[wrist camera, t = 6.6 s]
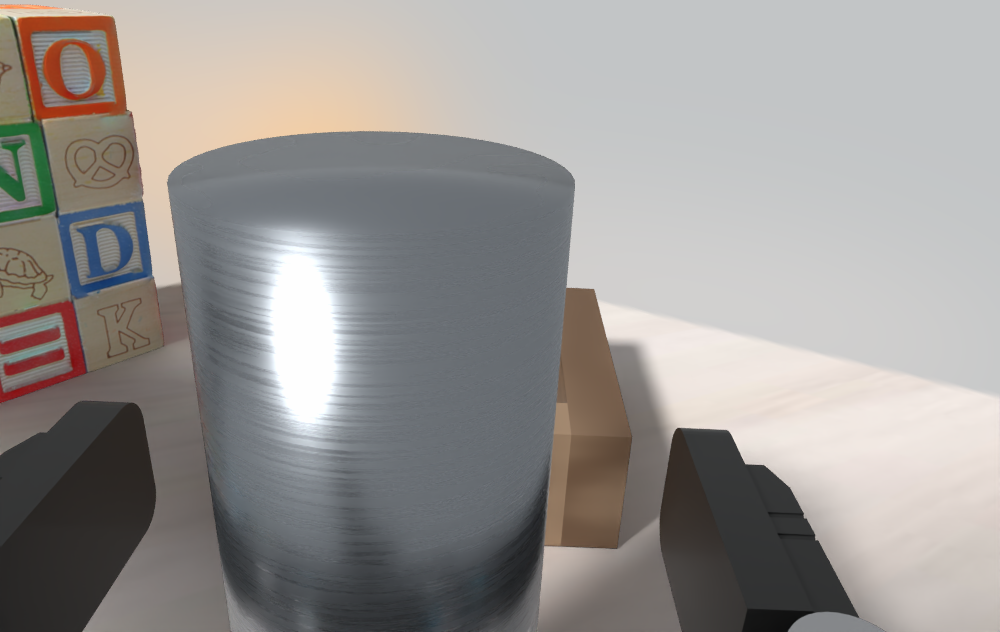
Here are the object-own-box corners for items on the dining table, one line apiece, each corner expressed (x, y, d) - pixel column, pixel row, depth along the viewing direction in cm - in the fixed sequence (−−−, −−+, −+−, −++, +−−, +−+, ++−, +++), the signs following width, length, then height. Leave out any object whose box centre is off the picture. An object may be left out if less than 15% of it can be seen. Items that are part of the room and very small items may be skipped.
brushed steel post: (237, 1023, 11) (82, 222, 6) (305, 760, 15) (244, 124, 10) (515, 1033, 11) (592, 245, 6) (514, 768, 15) (561, 139, 10)
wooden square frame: (259, 533, 20) (246, 420, 19) (334, 363, 29) (329, 277, 27) (617, 548, 20) (631, 437, 19) (585, 374, 29) (594, 289, 28)
